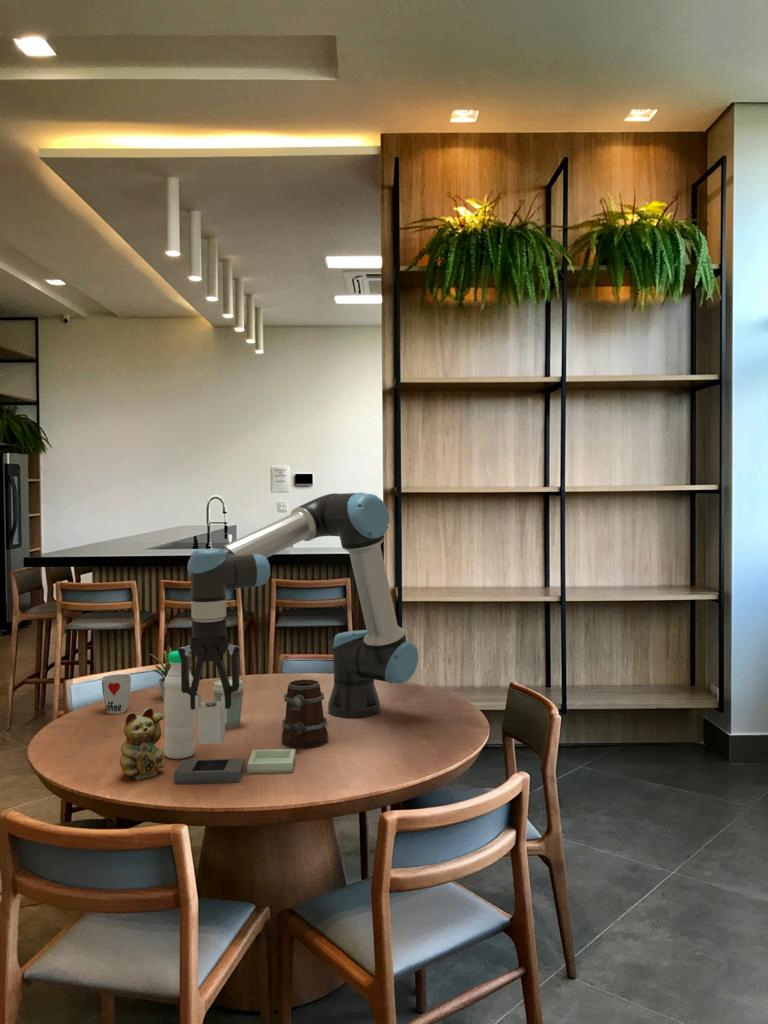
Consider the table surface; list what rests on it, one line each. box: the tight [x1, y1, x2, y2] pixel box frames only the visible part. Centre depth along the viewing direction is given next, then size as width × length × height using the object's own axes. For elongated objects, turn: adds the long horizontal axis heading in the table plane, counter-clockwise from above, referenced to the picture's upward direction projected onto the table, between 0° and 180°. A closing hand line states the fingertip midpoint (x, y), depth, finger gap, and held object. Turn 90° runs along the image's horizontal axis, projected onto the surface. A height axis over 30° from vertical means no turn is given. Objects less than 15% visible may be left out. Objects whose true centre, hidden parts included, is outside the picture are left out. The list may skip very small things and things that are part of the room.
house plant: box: [149, 646, 193, 702], centre depth 245 cm, size 14×14×16 cm
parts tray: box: [246, 748, 296, 775], centre depth 183 cm, size 10×10×2 cm
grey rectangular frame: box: [173, 757, 246, 785], centre depth 177 cm, size 14×9×2 cm, turn 92°
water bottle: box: [163, 650, 196, 760], centre depth 191 cm, size 7×7×25 cm
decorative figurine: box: [119, 707, 165, 781], centre depth 178 cm, size 10×8×15 cm
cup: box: [101, 673, 132, 715], centre depth 231 cm, size 8×8×10 cm
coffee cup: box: [212, 678, 245, 730], centre depth 216 cm, size 8×9×12 cm
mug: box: [281, 678, 329, 749], centre depth 199 cm, size 16×12×15 cm
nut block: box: [197, 700, 226, 745], centre depth 177 cm, size 5×5×8 cm
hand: (211, 723), depth 177 cm, fingers closed on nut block, 5 cm apart
